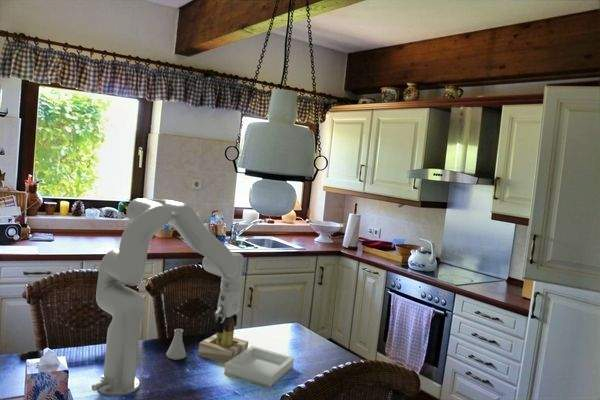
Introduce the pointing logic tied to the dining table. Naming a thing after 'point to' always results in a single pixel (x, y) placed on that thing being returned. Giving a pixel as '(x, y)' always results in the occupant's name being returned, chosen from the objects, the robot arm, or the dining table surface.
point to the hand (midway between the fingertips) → (225, 328)
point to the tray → (259, 366)
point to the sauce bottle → (226, 333)
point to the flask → (177, 346)
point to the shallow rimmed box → (221, 349)
